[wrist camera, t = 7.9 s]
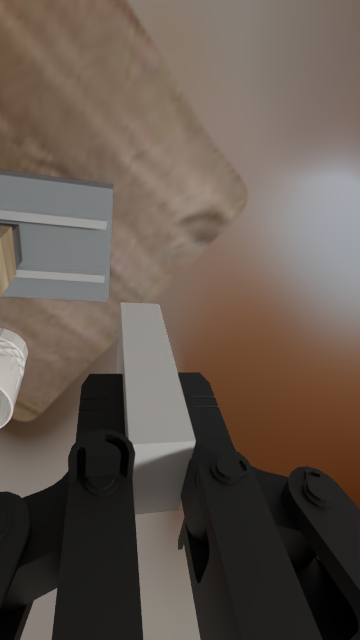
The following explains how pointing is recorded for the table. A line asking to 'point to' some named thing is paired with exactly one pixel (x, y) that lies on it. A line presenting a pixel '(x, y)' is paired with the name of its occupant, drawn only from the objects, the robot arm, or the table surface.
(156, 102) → the table surface
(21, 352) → the white cup
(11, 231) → the tan block
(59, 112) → the table surface
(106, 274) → the board
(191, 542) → the robot arm
